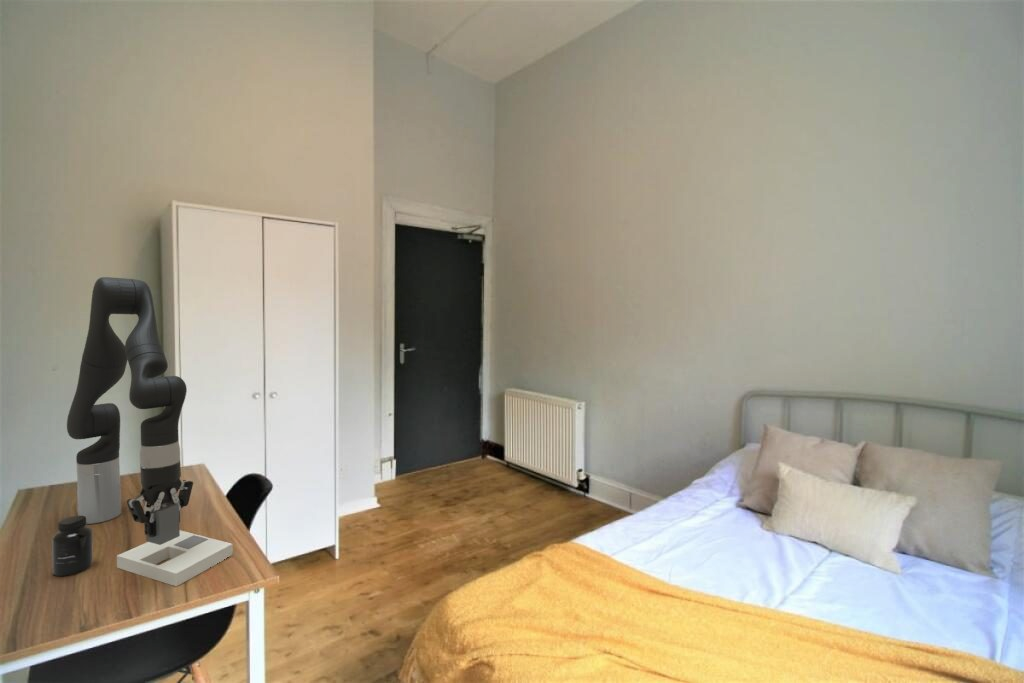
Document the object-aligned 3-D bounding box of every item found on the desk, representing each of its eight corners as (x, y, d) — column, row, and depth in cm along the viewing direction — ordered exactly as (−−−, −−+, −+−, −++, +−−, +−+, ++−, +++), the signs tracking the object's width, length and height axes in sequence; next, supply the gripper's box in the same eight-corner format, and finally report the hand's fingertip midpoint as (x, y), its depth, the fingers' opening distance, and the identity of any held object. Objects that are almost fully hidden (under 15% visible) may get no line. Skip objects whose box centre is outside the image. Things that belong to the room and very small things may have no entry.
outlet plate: (117, 567, 109) (116, 554, 109) (176, 540, 123) (176, 528, 122) (176, 586, 103) (176, 572, 103) (232, 555, 116) (232, 543, 116)
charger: (146, 541, 108) (145, 507, 107) (166, 532, 112) (165, 499, 112) (160, 545, 107) (159, 510, 106) (179, 536, 111) (178, 502, 110)
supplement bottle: (58, 580, 104) (56, 529, 103) (48, 571, 107) (46, 521, 107) (97, 566, 110) (95, 518, 109) (87, 557, 113) (85, 510, 112)
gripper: (180, 450, 116) (181, 516, 117) (115, 468, 103) (118, 542, 104) (201, 454, 114) (203, 521, 115) (138, 473, 100) (140, 549, 101)
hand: (162, 531), depth 109 cm, fingers closed on charger, 4 cm apart
